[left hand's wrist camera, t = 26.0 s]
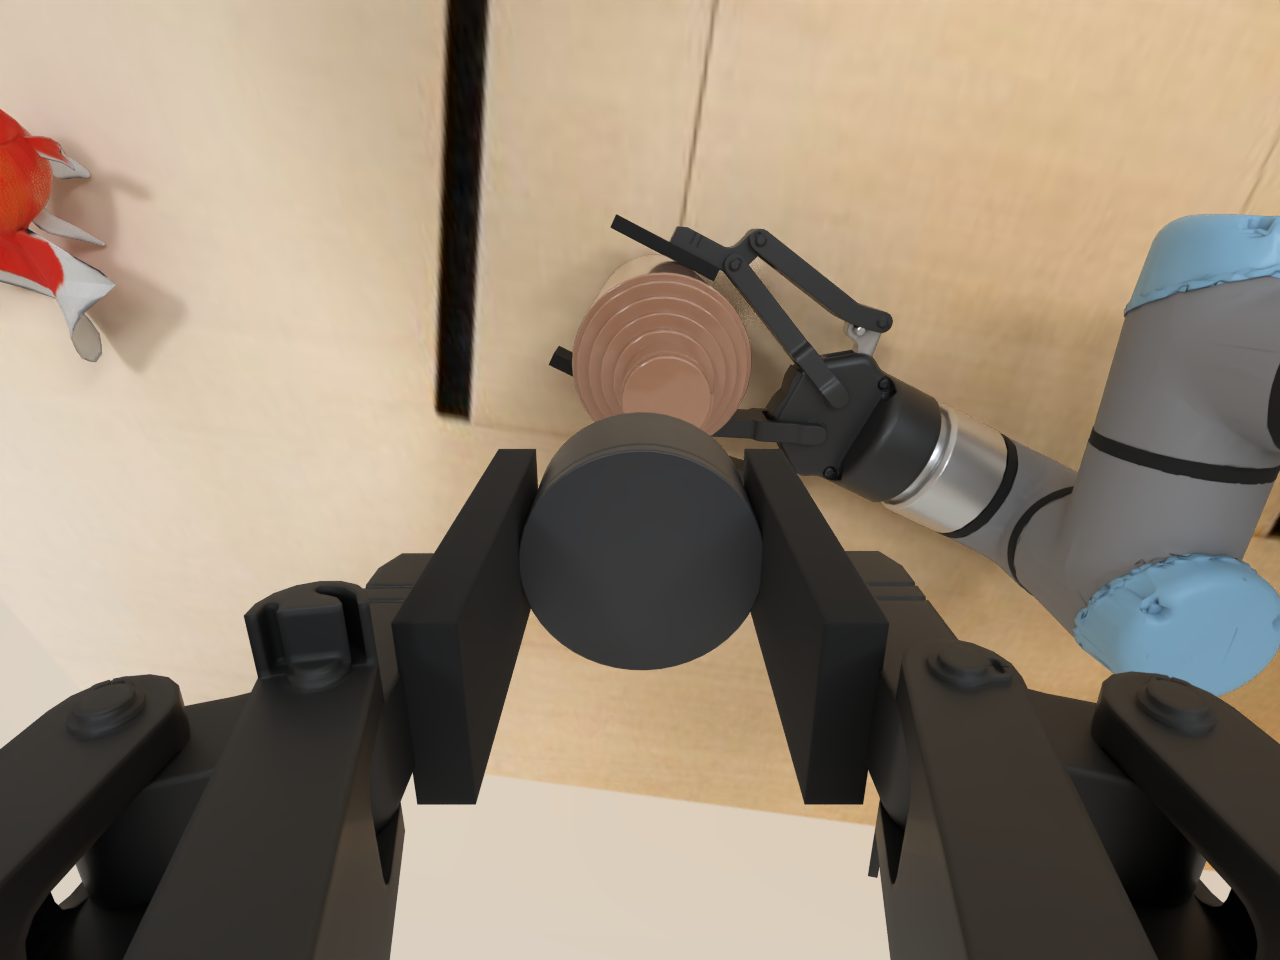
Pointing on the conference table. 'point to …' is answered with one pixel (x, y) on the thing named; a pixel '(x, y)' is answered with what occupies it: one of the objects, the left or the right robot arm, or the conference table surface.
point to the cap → (641, 544)
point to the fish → (11, 253)
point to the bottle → (661, 347)
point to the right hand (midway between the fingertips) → (583, 290)
